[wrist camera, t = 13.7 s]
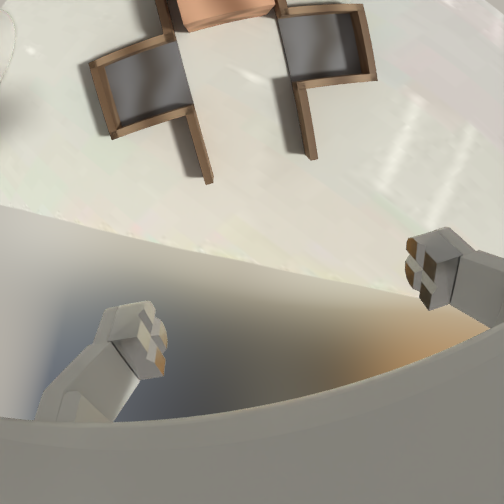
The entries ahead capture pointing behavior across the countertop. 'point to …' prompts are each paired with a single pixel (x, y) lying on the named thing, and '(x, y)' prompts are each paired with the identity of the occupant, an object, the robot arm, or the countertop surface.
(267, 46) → the countertop surface
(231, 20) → the terracotta block
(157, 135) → the countertop surface
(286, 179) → the countertop surface
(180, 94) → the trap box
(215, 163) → the countertop surface
